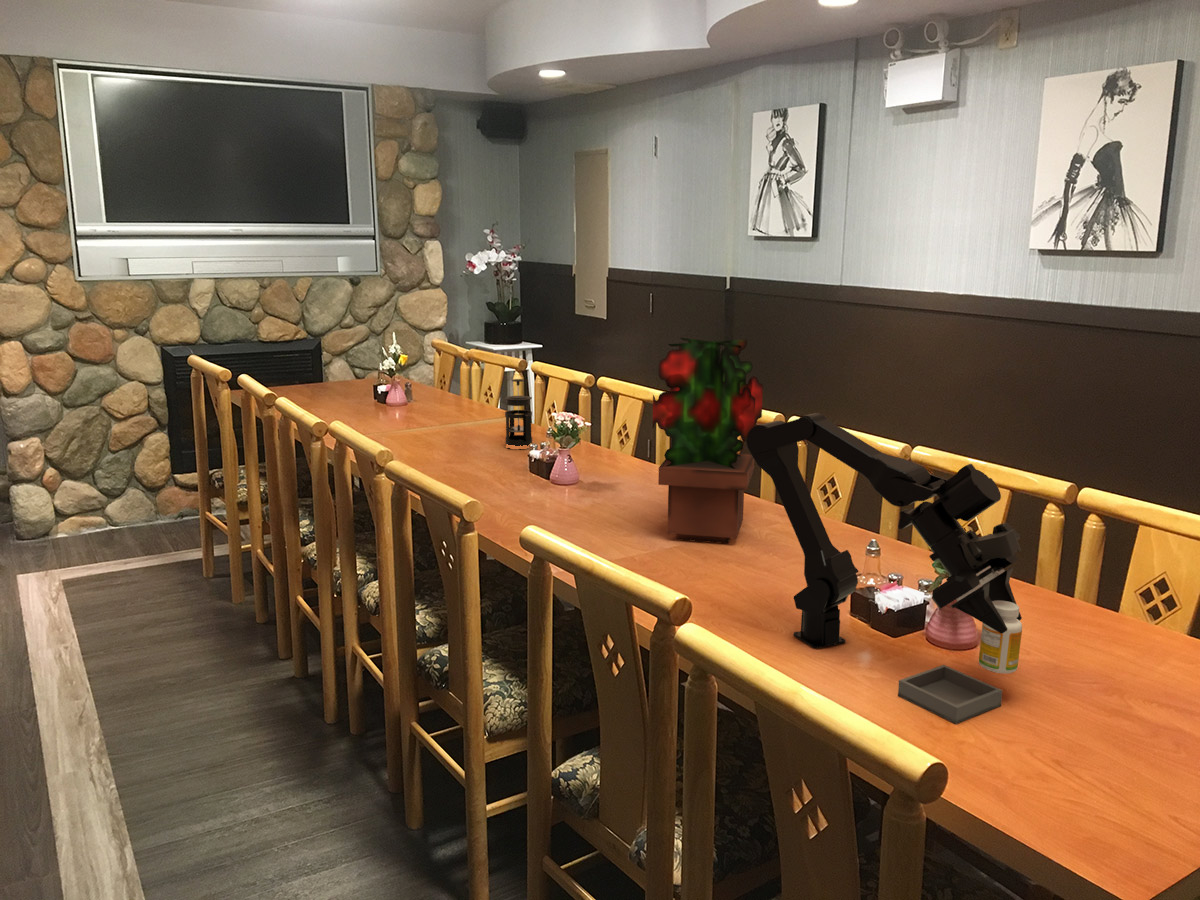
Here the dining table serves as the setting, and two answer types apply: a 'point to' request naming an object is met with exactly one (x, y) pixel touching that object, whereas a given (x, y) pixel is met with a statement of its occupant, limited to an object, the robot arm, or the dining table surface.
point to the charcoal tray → (950, 693)
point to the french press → (512, 414)
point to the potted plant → (706, 437)
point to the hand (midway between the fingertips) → (1011, 626)
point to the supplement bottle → (1002, 641)
